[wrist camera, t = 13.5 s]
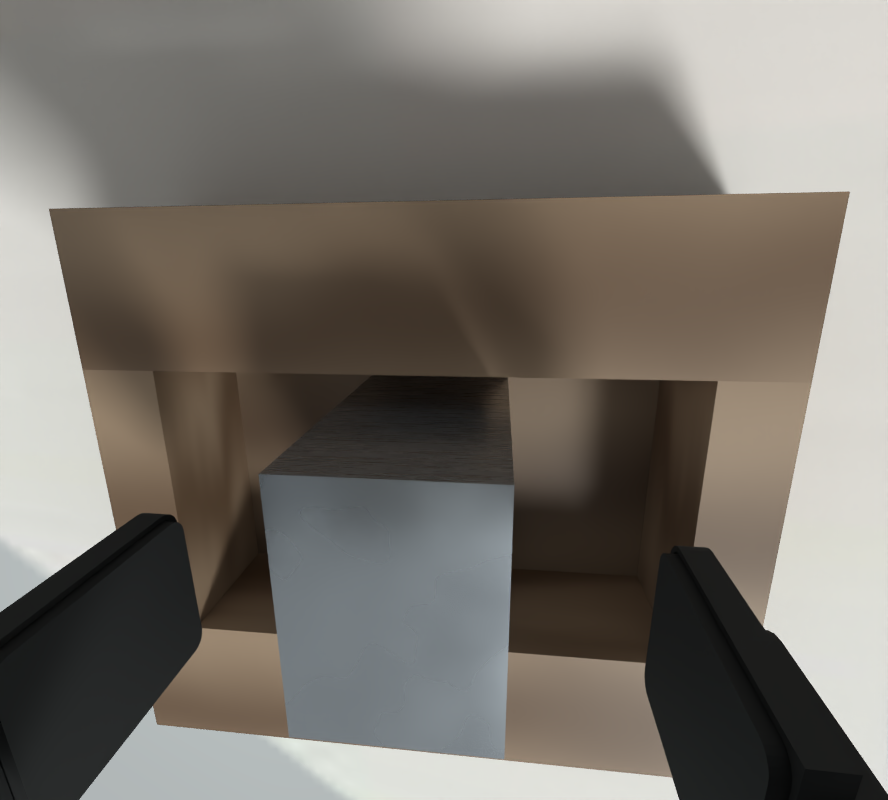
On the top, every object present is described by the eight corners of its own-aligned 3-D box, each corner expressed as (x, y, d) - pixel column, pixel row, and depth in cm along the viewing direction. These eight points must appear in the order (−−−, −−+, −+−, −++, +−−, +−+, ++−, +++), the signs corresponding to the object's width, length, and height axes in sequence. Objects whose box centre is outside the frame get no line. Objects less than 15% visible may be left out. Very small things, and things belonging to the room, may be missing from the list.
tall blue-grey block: (372, 375, 16) (258, 474, 9) (507, 377, 16) (514, 485, 8) (379, 534, 18) (288, 737, 10) (502, 542, 17) (504, 759, 10)
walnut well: (178, 224, 17) (49, 208, 12) (736, 214, 15) (849, 191, 10) (235, 619, 21) (157, 724, 16) (673, 652, 19) (731, 783, 14)
